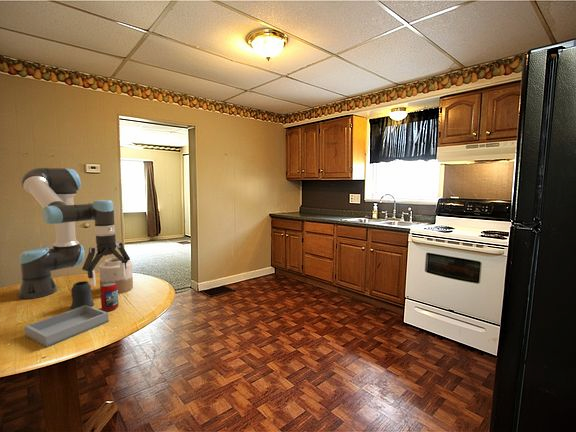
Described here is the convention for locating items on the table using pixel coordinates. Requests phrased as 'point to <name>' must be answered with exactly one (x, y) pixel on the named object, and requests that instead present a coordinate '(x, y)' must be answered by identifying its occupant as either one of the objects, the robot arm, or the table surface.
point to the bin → (66, 325)
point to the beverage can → (109, 296)
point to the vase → (116, 274)
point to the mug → (81, 295)
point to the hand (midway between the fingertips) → (108, 280)
